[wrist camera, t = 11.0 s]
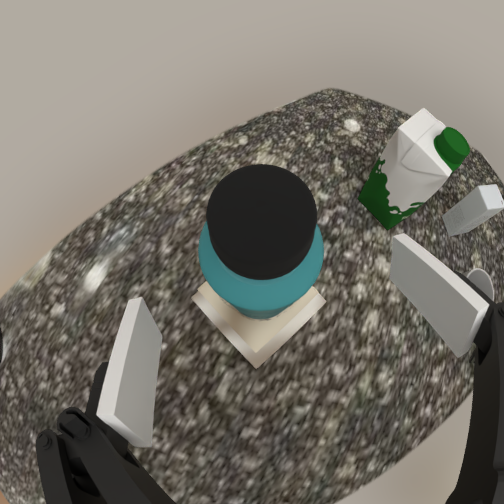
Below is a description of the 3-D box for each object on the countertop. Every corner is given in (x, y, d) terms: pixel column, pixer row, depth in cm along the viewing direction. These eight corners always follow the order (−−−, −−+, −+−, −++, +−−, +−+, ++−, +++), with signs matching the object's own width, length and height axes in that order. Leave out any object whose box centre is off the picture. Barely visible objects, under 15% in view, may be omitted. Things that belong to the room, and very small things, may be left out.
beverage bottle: (248, 249, 30) (226, 111, 10) (304, 278, 28) (378, 177, 9) (217, 302, 28) (129, 241, 9) (274, 334, 27) (304, 344, 8)
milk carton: (388, 238, 40) (460, 173, 21) (349, 197, 42) (397, 112, 23) (414, 207, 41) (480, 141, 22) (379, 171, 43) (427, 91, 24)
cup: (424, 294, 37) (457, 283, 29) (458, 265, 38) (489, 251, 29) (441, 331, 35) (475, 328, 27) (473, 300, 36) (506, 291, 28)
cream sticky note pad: (193, 299, 38) (171, 287, 29) (260, 238, 40) (260, 209, 31) (256, 367, 35) (254, 379, 26) (324, 302, 37) (344, 292, 28)
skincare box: (460, 212, 41) (497, 183, 29) (467, 232, 40) (506, 207, 28) (440, 215, 41) (477, 184, 29) (447, 237, 40) (488, 210, 28)
